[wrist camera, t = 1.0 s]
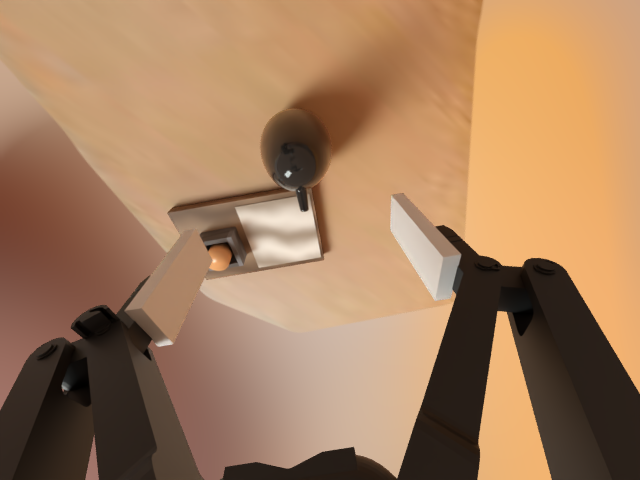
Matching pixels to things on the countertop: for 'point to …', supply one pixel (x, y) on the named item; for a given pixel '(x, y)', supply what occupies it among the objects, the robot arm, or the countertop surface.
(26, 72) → the countertop surface
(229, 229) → the drawing board
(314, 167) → the pump dispenser
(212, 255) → the button
